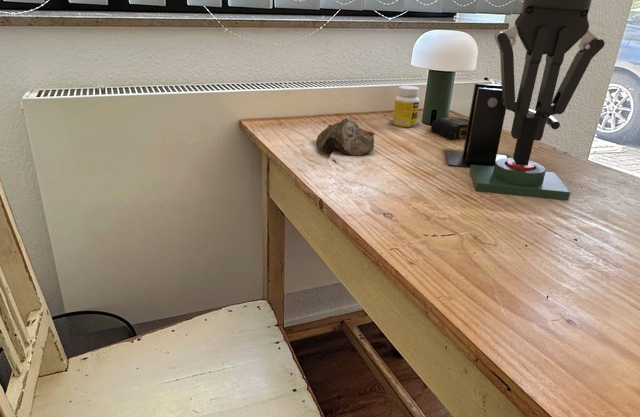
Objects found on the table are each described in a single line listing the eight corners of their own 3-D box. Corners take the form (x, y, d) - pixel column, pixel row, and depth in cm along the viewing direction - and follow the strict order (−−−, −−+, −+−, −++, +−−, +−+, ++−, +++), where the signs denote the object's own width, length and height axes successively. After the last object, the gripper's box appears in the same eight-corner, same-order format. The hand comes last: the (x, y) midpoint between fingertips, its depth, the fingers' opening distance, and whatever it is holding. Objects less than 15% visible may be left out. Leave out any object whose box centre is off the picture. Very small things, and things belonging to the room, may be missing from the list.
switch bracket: (504, 162, 82) (520, 84, 77) (513, 178, 75) (532, 94, 70) (443, 156, 84) (455, 80, 79) (447, 171, 77) (460, 88, 71)
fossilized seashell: (386, 142, 81) (344, 137, 89) (371, 109, 77) (328, 108, 85) (360, 172, 78) (319, 165, 86) (343, 140, 75) (301, 136, 82)
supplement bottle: (413, 133, 96) (419, 90, 93) (389, 130, 98) (394, 87, 94) (417, 128, 101) (422, 86, 97) (394, 125, 102) (399, 84, 98)
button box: (551, 186, 73) (557, 160, 71) (566, 207, 66) (574, 179, 64) (468, 178, 74) (472, 152, 73) (474, 197, 67) (479, 170, 66)
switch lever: (546, 126, 78) (554, 112, 77) (555, 134, 73) (563, 119, 72) (475, 99, 78) (482, 85, 77) (479, 106, 73) (486, 91, 72)
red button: (528, 172, 70) (531, 160, 70) (534, 181, 67) (537, 169, 66) (502, 169, 71) (505, 158, 70) (507, 178, 68) (509, 166, 67)
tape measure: (428, 135, 96) (430, 116, 94) (457, 133, 98) (460, 115, 97) (448, 145, 90) (451, 125, 88) (479, 143, 92) (482, 123, 91)
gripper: (609, -23, 61) (561, 158, 71) (501, -28, 63) (469, 149, 72) (634, -25, 54) (578, 175, 64) (512, -30, 56) (475, 165, 66)
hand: (520, 161), depth 68 cm, fingers closed
